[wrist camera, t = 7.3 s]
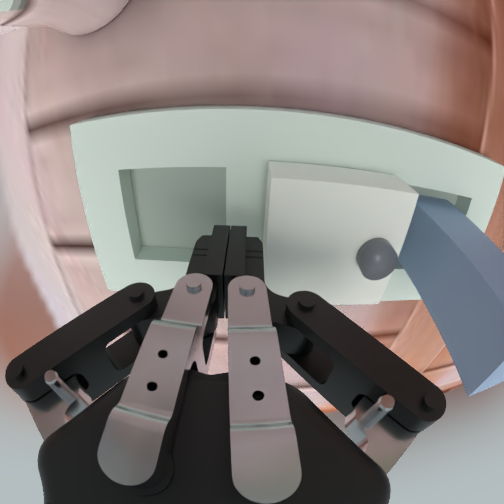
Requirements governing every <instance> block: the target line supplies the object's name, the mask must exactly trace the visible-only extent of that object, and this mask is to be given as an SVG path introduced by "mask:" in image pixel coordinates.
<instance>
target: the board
mask: <svg viewBox="0 0 504 504" xmlns="http://www.w3.org/2000/svg"><path fill="white" fill-rule="evenodd" d="M70 132H71V141H72V148H73V155H74V161H75V167H76V173H77V179H78V184H79V189H80V193H81V198H82V203H83V207H84V211H85V215H86V219H87V223H88V227H89V231H90V234H91V238H92V241H93V245H94V248H95V252H96V255H97V258H98V261H99V264H100V267H101V270H102V273H103V276H104V279H105V282H106V285H107V288H108V290H114V291H120V290H122V289H123V288H125V287H127V286H128V285H130V284H133V283H138V282H143V283H147V284H149V285H151V286H152V287H153V288H154V291H155V292H157V291H163V290H168V289H172V288H174V287H175V285H176V283H177V281H178V280H179V279H180V278H181V277H183V276H185V275H186V272H187V269H188V265H189V262H190V259H191V256H192V252H193V250H194V246H195V243H196V241H197V240H198V239H199V238H200V237H201V236H202V235H212V232H213V228H214V225H230V230H231V225H234V226H247V237H258V238H259V239H260V240H261V242H262V243H263V233H264V219H265V205H266V191H267V176H268V161H277V162H292V163H304V164H315V165H324V166H333V167H342V168H350V169H357V170H364V171H371V172H378V173H384V174H390V175H396V176H398V177H399V178H400V179H401V180H403V181H404V182H405V183H406V184H408V185H409V186H410V187H411V188H412V189H413V190H415V191H416V192H417V193H418V194H419V195H425V196H430V197H436V198H441V199H446V200H448V201H449V202H451V203H452V204H453V205H454V206H455V207H456V208H457V209H459V210H460V211H461V212H462V213H463V214H464V215H465V216H466V217H468V218H469V219H470V220H471V221H472V222H473V223H474V224H475V225H476V226H477V227H478V228H479V229H480V230H481V231H482V232H483V233H485V230H486V228H487V225H488V223H489V220H490V217H491V215H492V212H493V209H494V206H495V203H496V200H497V197H498V194H499V191H500V187H501V184H502V181H503V177H504V166H503V165H501V164H499V163H498V162H496V161H494V160H492V159H491V158H489V157H487V156H485V155H483V154H480V153H478V152H475V151H473V150H470V149H468V148H465V147H462V146H460V145H457V144H454V143H451V142H448V141H445V140H442V139H439V138H436V137H433V136H430V135H427V134H423V133H420V132H416V131H413V130H409V129H405V128H402V127H398V126H394V125H390V124H385V123H381V122H376V121H372V120H367V119H362V118H357V117H351V116H345V115H339V114H333V113H326V112H319V111H311V110H302V109H292V108H281V107H266V106H242V105H204V106H181V107H166V108H155V109H145V110H137V111H129V112H122V113H115V114H109V115H103V116H98V117H92V118H89V119H86V120H83V121H80V122H77V123H75V124H72V125H70ZM419 299H422V298H421V296H420V295H419V293H418V291H417V289H416V288H415V286H414V284H413V283H412V281H411V279H410V278H409V276H408V274H407V273H406V271H405V269H404V268H403V266H402V265H401V263H400V261H399V260H398V263H397V266H396V268H395V269H394V270H393V272H392V274H391V277H390V279H389V282H388V284H387V286H386V289H385V291H384V293H383V296H382V298H381V300H380V301H394V300H419Z"/></svg>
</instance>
